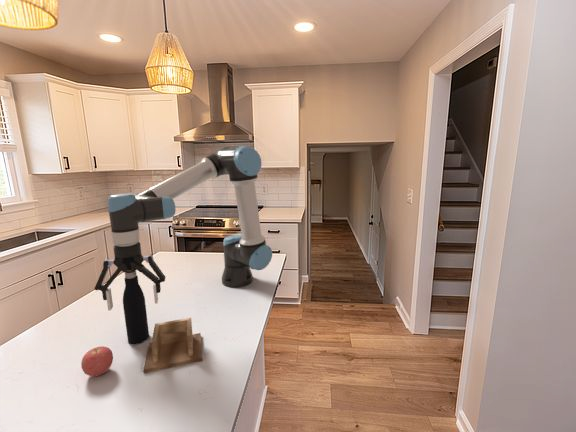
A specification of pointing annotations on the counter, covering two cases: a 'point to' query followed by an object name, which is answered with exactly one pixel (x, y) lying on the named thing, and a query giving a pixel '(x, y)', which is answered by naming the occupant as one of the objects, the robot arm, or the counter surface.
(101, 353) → the apple
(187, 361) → the u rest
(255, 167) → the robot arm
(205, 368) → the counter surface
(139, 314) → the wine bottle
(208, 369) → the counter surface
